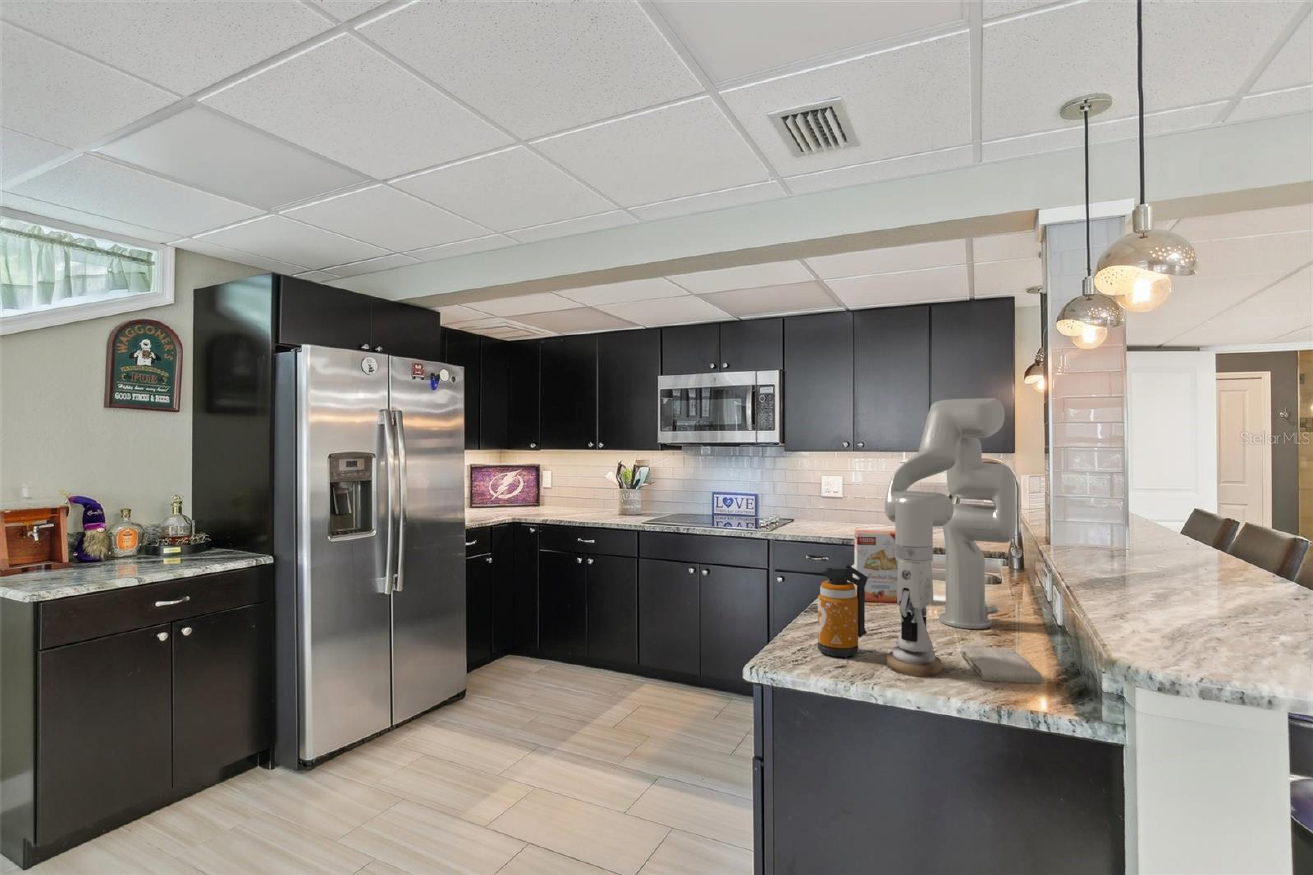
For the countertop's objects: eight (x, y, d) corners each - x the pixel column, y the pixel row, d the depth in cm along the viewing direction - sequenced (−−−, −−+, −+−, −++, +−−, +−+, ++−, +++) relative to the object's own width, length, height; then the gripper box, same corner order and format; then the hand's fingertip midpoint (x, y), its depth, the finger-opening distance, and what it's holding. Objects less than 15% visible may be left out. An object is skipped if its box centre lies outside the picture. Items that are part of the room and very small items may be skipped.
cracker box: (856, 601, 201) (856, 532, 201) (853, 596, 207) (853, 529, 207) (905, 603, 199) (905, 533, 199) (901, 598, 205) (901, 530, 205)
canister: (814, 646, 160) (814, 561, 159) (861, 646, 159) (861, 562, 159) (822, 658, 151) (822, 569, 150) (872, 659, 150) (872, 569, 150)
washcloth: (1011, 657, 153) (1011, 644, 153) (1044, 687, 135) (1044, 671, 135) (956, 655, 154) (956, 641, 154) (981, 684, 137) (981, 668, 137)
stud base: (915, 656, 152) (915, 641, 152) (953, 672, 142) (953, 656, 142) (875, 662, 148) (875, 646, 148) (911, 679, 138) (911, 662, 138)
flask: (912, 654, 140) (912, 607, 140) (889, 644, 147) (889, 598, 147) (940, 651, 143) (940, 604, 142) (916, 640, 149) (916, 596, 149)
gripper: (918, 561, 136) (919, 651, 136) (943, 549, 149) (943, 631, 149) (882, 557, 140) (882, 643, 141) (909, 545, 154) (909, 625, 154)
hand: (913, 636), depth 145 cm, fingers closed on flask, 5 cm apart
